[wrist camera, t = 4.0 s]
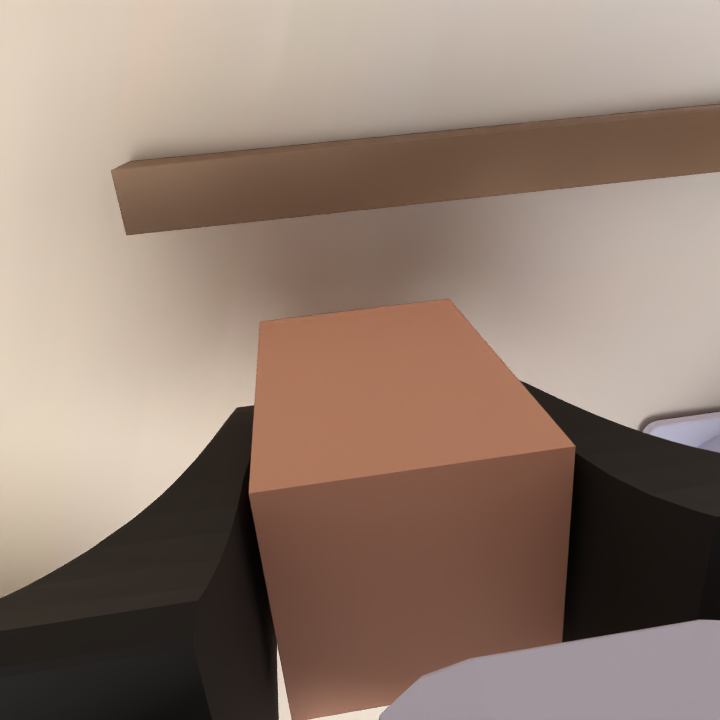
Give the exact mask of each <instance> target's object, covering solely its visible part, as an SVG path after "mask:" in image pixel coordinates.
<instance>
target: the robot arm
mask: <svg viewBox="0 0 720 720" xmlns="http://www.w3.org/2000/svg"><path fill="white" fill-rule="evenodd" d="M519 381H520V380H519ZM520 382H521V383H522V384H523V386H524V387H525V388H526V389H527V390H528V391H529V393H530V394H531V395H532V396H533V397H534V398H535V399H536V401H537V402H538V403H539V404H540V405H541V406H542V408H543V409H544V410H545V411H546V412H547V413H548V415H549V416H550V417H551V418H552V419H553V420H554V422H555V423H556V424H557V425H558V426H559V427H560V429H561V430H562V431H563V432H564V433H565V434H566V436H567V437H568V438H569V439H570V440H571V441H572V443H573V444H574V445H575V446H576V447H575V462H574V476H573V491H572V505H571V519H570V534H569V548H568V563H567V577H566V591H565V606H564V620H563V635H562V643H558V644H552V645H546V646H540V647H534V648H528V649H522V650H516V651H510V652H505V653H499V654H493V655H487V656H481V657H475V658H470V659H467V660H464V661H461V662H459V663H456V664H453V665H450V666H448V667H445V668H442V669H440V670H437V671H434V672H431V673H429V674H426V675H423V676H421V677H420V678H419V679H418V680H417V681H416V682H415V683H414V684H412V685H411V686H410V687H409V688H408V689H407V690H406V691H405V692H404V693H403V694H402V695H401V696H399V697H398V698H397V699H396V700H395V701H394V702H393V703H392V704H391V705H390V706H389V707H388V708H387V709H386V710H385V711H384V712H383V713H382V714H381V715H380V717H379V720H720V412H714V413H707V414H700V415H693V416H686V417H679V418H672V419H665V420H658V421H654V422H651V423H650V424H649V425H647V426H646V427H645V429H644V430H643V432H640V431H637V430H634V429H631V428H629V427H626V426H623V425H620V424H618V423H615V422H613V421H610V420H607V419H605V418H602V417H600V416H597V415H595V414H592V413H590V412H588V411H585V410H583V409H581V408H578V407H576V406H574V405H572V404H569V403H567V402H565V401H563V400H561V399H558V398H556V397H554V396H552V395H550V394H548V393H546V392H544V391H541V390H539V389H537V388H535V387H533V386H531V385H529V384H527V383H524V382H522V381H520ZM253 420H254V406H246V407H239V408H236V409H235V411H234V412H233V413H232V414H231V415H230V417H229V418H228V419H227V421H226V422H225V423H224V425H223V426H222V427H221V429H220V430H219V431H218V432H217V434H216V435H215V436H214V438H213V439H212V440H211V442H210V443H209V444H208V445H207V446H206V448H205V449H204V450H203V451H202V452H201V454H200V455H199V456H198V457H197V459H196V460H195V461H194V462H193V463H192V464H191V465H190V466H189V467H188V468H187V469H186V471H185V472H184V473H183V474H182V475H181V476H180V477H179V478H178V479H177V480H176V481H175V482H174V483H173V484H172V485H171V486H170V487H169V488H168V489H167V490H166V491H165V492H164V493H163V494H162V495H161V496H160V497H158V498H157V499H156V500H155V501H154V502H153V503H152V504H150V505H149V506H148V507H147V508H146V509H144V510H143V511H142V512H141V513H140V514H139V515H137V516H136V517H135V518H133V519H132V520H131V521H130V522H128V523H127V524H125V525H124V526H122V527H121V528H120V529H118V530H117V531H115V532H114V533H113V534H111V535H110V536H108V537H107V538H106V539H104V540H103V541H101V542H100V543H99V544H97V545H96V546H94V547H93V548H91V549H90V550H88V551H87V552H85V553H83V554H82V555H80V556H79V557H77V558H75V559H74V560H72V561H70V562H69V563H67V564H65V565H64V566H62V567H60V568H58V569H57V570H55V571H53V572H51V573H50V574H48V575H46V576H44V577H43V578H41V579H39V580H37V581H35V582H33V583H31V584H29V585H28V586H26V587H24V588H22V589H20V590H18V591H16V592H13V593H11V594H9V595H7V596H5V597H3V598H1V599H0V720H279V715H278V682H277V640H276V634H275V629H274V624H273V619H272V614H271V608H270V603H269V598H268V593H267V587H266V582H265V577H264V572H263V566H262V561H261V556H260V551H259V545H258V540H257V535H256V530H255V524H254V519H253V514H252V509H251V503H250V498H249V480H250V465H251V450H252V435H253Z"/></svg>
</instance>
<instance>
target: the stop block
mask: <svg viewBox="0 0 720 720" xmlns="http://www.w3.org/2000/svg"><path fill="white" fill-rule="evenodd" d="M575 447H576V446H575V445H574V444H573V443H572V441H571V440H570V439H569V438H568V437H567V436H566V434H565V433H564V432H563V431H562V430H561V429H560V427H559V426H558V425H557V424H556V423H555V422H554V420H553V419H552V418H551V417H550V416H549V415H548V413H547V412H546V411H545V410H544V409H543V408H542V406H541V405H540V404H539V403H538V402H537V401H536V399H535V398H534V397H533V396H532V395H531V394H530V393H529V391H528V390H527V389H526V388H525V387H524V386H523V384H522V383H521V382H520V381H519V380H518V379H517V377H516V376H515V375H514V374H513V373H512V372H511V370H510V369H509V368H508V367H507V366H506V365H505V363H504V362H503V361H502V360H501V359H500V358H499V356H498V355H497V354H496V353H495V352H494V351H493V349H492V348H491V347H490V346H489V345H488V344H487V342H486V341H485V340H484V339H483V338H482V337H481V335H480V334H479V333H478V332H477V331H476V330H475V328H474V327H473V326H472V325H471V324H470V323H469V322H468V320H467V319H466V318H465V317H464V316H463V315H462V313H461V312H460V311H459V310H458V309H457V308H456V306H455V305H454V304H453V303H452V302H451V301H450V299H443V300H435V301H426V302H418V303H410V304H402V305H393V306H385V307H377V308H369V309H361V310H352V311H344V312H336V313H328V314H319V315H311V316H303V317H295V318H286V319H278V320H270V321H262V322H260V329H259V344H258V359H257V374H256V389H255V404H254V420H253V435H252V450H251V465H250V480H249V498H250V503H251V509H252V514H253V519H254V524H255V530H256V535H257V540H258V545H259V551H260V556H261V561H262V566H263V572H264V577H265V582H266V587H267V593H268V598H269V603H270V608H271V614H272V619H273V624H274V629H275V634H276V640H277V645H278V650H279V655H280V661H281V666H282V671H283V676H284V682H285V687H286V692H287V697H288V703H289V708H290V713H291V718H292V720H308V719H313V718H319V717H325V716H331V715H336V714H342V713H348V712H353V711H359V710H365V709H370V708H376V707H382V706H387V705H391V704H392V703H393V702H394V701H395V700H396V699H397V698H398V697H399V696H401V695H402V694H403V693H404V692H405V691H406V690H407V689H408V688H409V687H410V686H411V685H412V684H414V683H415V682H416V681H417V680H418V679H419V678H420V677H421V676H423V675H426V674H429V673H431V672H434V671H437V670H440V669H442V668H445V667H448V666H450V665H453V664H456V663H459V662H461V661H464V660H467V659H470V658H475V657H481V656H487V655H493V654H499V653H505V652H510V651H516V650H522V649H528V648H534V647H540V646H546V645H552V644H558V643H562V635H563V620H564V606H565V591H566V577H567V563H568V548H569V534H570V519H571V505H572V491H573V476H574V462H575Z"/></svg>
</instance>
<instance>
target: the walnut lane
mask: <svg viewBox="0 0 720 720" xmlns="http://www.w3.org/2000/svg"><path fill="white" fill-rule="evenodd" d="M712 172H720V104H714V105H704V106H694V107H683V108H673V109H663V110H652V111H642V112H632V113H622V114H611V115H601V116H591V117H581V118H570V119H560V120H550V121H540V122H529V123H519V124H509V125H499V126H488V127H478V128H468V129H457V130H447V131H437V132H427V133H416V134H406V135H396V136H386V137H375V138H365V139H355V140H345V141H334V142H324V143H314V144H303V145H293V146H283V147H273V148H262V149H252V150H242V151H232V152H221V153H211V154H201V155H191V156H180V157H170V158H160V159H150V160H139V161H130V162H127V163H125V164H123V165H121V166H119V167H117V168H115V169H113V170H111V173H112V177H113V181H114V185H115V189H116V194H117V198H118V202H119V206H120V210H121V214H122V219H123V223H124V227H125V231H126V235H134V234H143V233H152V232H162V231H171V230H180V229H190V228H199V227H208V226H218V225H227V224H236V223H246V222H255V221H264V220H274V219H283V218H292V217H302V216H311V215H320V214H329V213H339V212H348V211H357V210H367V209H376V208H385V207H395V206H404V205H413V204H423V203H432V202H441V201H451V200H460V199H469V198H479V197H488V196H497V195H507V194H516V193H525V192H535V191H544V190H553V189H563V188H572V187H581V186H590V185H600V184H609V183H618V182H628V181H637V180H646V179H656V178H665V177H674V176H684V175H693V174H702V173H712Z"/></svg>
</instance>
